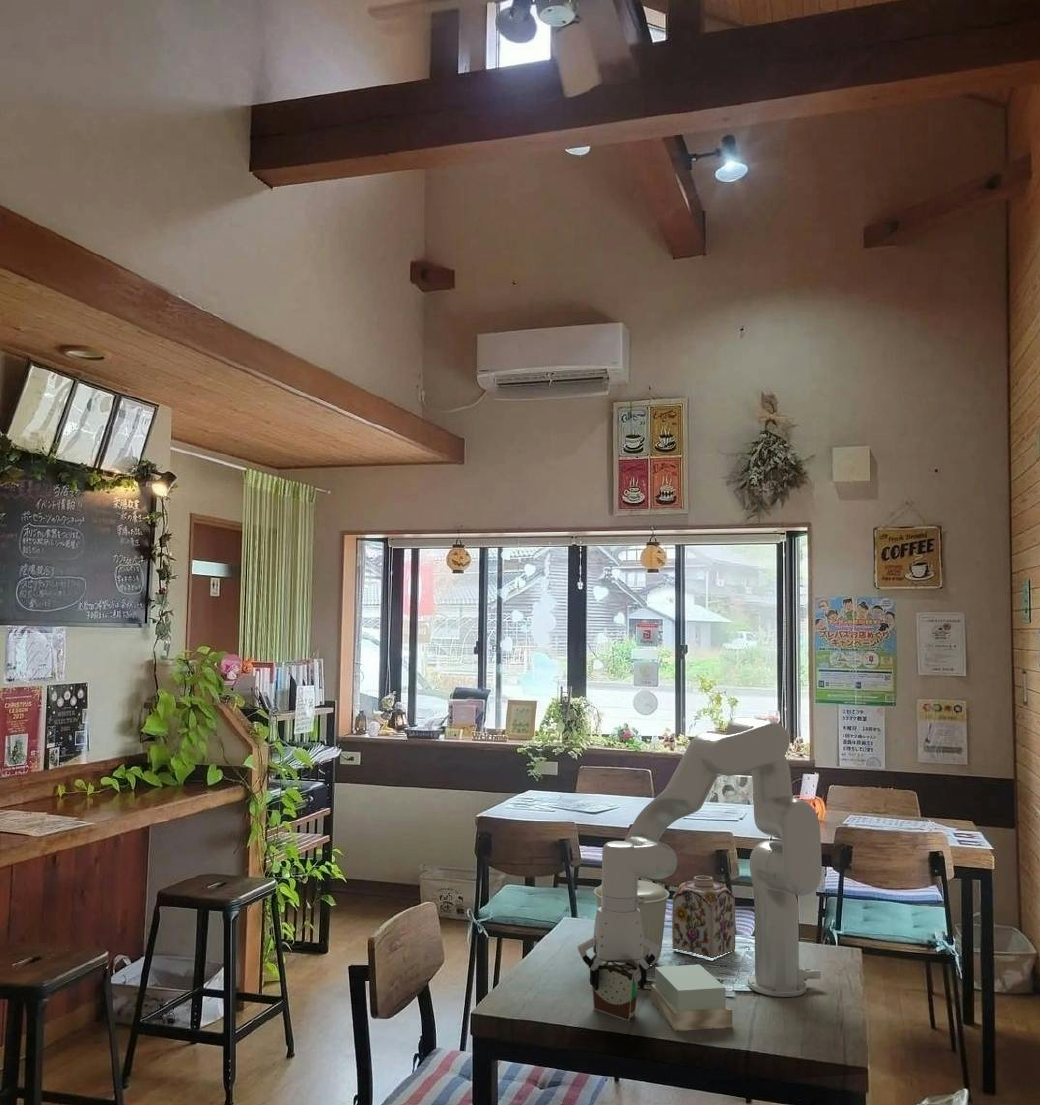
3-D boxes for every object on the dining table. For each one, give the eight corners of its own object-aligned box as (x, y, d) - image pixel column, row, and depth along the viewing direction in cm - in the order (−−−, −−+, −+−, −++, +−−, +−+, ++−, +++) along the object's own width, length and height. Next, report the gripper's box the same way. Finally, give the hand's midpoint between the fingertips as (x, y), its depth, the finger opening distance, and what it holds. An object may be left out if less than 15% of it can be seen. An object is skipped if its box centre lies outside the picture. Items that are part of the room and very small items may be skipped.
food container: (653, 1015, 202) (653, 965, 202) (635, 1024, 197) (635, 972, 198) (606, 999, 210) (606, 951, 211) (588, 1007, 206) (588, 958, 207)
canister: (579, 957, 237) (579, 868, 239) (640, 946, 246) (640, 860, 248) (621, 981, 221) (621, 885, 223) (685, 968, 230) (684, 876, 232)
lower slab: (705, 1001, 211) (704, 981, 212) (732, 1030, 196) (732, 1010, 196) (651, 1003, 210) (651, 984, 210) (674, 1034, 194) (674, 1013, 194)
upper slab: (699, 983, 211) (699, 964, 211) (725, 1008, 197) (725, 987, 197) (655, 986, 209) (655, 967, 209) (678, 1011, 195) (678, 990, 195)
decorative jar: (712, 963, 234) (712, 885, 236) (670, 952, 242) (670, 877, 243) (737, 951, 243) (736, 876, 245) (696, 941, 251) (695, 869, 252)
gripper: (654, 898, 210) (653, 980, 209) (575, 898, 208) (573, 982, 206) (664, 907, 203) (663, 993, 201) (582, 908, 200) (580, 995, 199)
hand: (618, 987), depth 204 cm, fingers open, 9 cm apart
